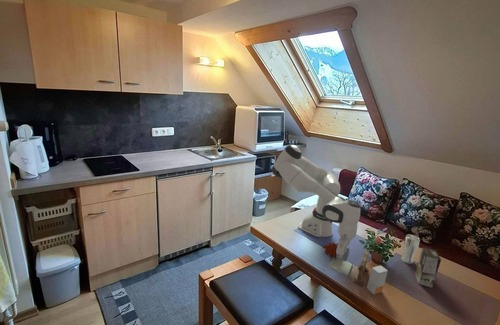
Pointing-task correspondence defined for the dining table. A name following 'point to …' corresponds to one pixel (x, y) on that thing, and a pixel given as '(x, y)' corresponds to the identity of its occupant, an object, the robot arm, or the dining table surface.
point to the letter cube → (344, 255)
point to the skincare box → (377, 279)
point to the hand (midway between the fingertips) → (342, 254)
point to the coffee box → (427, 267)
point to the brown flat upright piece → (362, 269)
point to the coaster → (340, 266)
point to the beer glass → (410, 248)
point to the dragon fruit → (331, 249)
